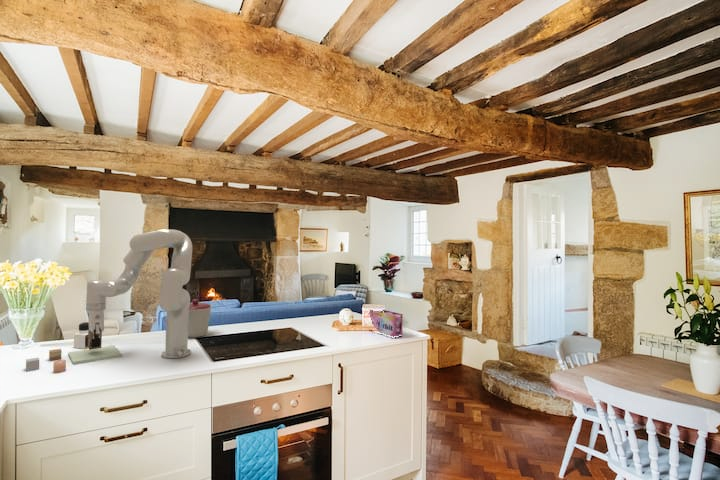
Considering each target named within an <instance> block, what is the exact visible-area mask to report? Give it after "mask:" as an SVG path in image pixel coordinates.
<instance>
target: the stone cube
mask: <svg viewBox="0 0 720 480" xmlns="http://www.w3.org/2000/svg"><path fill="white" fill-rule="evenodd" d="M36 370H37V371H38V370H40V357H34V358H28V359H25V371H26V372H31V371H36Z"/></svg>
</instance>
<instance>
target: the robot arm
mask: <svg viewBox="0 0 720 480" xmlns="http://www.w3.org/2000/svg"><path fill="white" fill-rule="evenodd" d="M129 248H130V250H129V251H128V253H127V254H126V255H125V256H124V258H123V263H124V266H125V267H124V269H123V271H122V273H121V274H120V276H119V277H118V278H116V279H113V280H108V281H106V280H104V279H93V280H88V281H87V283H86V295H85V296H86V298H85V299H86V300H85V302H86V303H85V311H86V312H88V322H89V330H90V331H91V332H92V337H93V339H92V344H91V347H92V348H93V347H99V346H100V330H101V331H102V332H104V330H105V312H104V311H106V309H107V298H113V297H117V296H120V295H124V294H126V293H128V292H129V291H130V290H131V288H132V287H133V286H134V284H135V283H136V281H137V280H138V278H139V277H140V274H141V271H142V268H143V266H144V265H145V264H146V262H147V261H148V260H149V258H150V257H151V255H153V253H154V252H155V251H156V250H160V249H165V248H173V253H172V255H171V263H170V264H171V265H170V268H167V269H166V270H164V272H163V273H162V275H161V278H160V286H159V294H158V304H159V307H160V308H161V310H163V311H164V312H165V313H166V317H165V318H166V319H165V320H166V321H165V349H164V351H163V352H161V357H162V358H164V359H179V358H184V357H187V356H189V355H191V353H192V350H191V349H190V348H188V343H189V340H188V339H189V338H188V315H189V306H190V303H191V295H190V293H189V292H188V291H187V290H186V289H184V288H183V286H185V285H186V284H188V283H189V281H190V278H191V268H192V256H193V243H192V240H191V239H190V237H189V236H188V235H187V234H186V233H184V232H182V231H181V230H177V229H173V228H172V229H171V228H170V229H169V228H166V229H165V228H164V229H158V230H153V231H147V232H143V233H138V234H136V235H133V236H132V237H131V238H130V240H129ZM95 330H96V332H94V331H95ZM94 333H96V334H94Z"/></svg>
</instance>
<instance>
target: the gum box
mask: <svg viewBox="0 0 720 480" xmlns="http://www.w3.org/2000/svg"><path fill="white" fill-rule="evenodd" d="M369 310H370V312H369V311H368V315H369V314H370V317H371V320H372V324H373V325H374V327H375V328H376V329H377V331H379V332H380V333H384V334H386V335H390V336H393V337H394V336H399V335H402V336H403V319H404V318H403V315H404V314H402V313H399V312H394V311H390V310H385V309H382V310H383V311H384V313H383V311H373V310H371V309H369Z"/></svg>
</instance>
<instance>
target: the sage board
mask: <svg viewBox="0 0 720 480" xmlns="http://www.w3.org/2000/svg"><path fill="white" fill-rule="evenodd" d="M67 353H68V354H67V355H68V357H69V360H70V361H71V364H72V365H79V364H85V363H90V362H96V361H104V360H108V359H113V358H120V357H121V358H122V357H123V355H122V352H121V351H120V350H119V349H118V348H117V347H116V345H107V346H101V348H98V349H91V350H89V348H87V349H81V350H80V349H79V350H74V351H68V352H67Z"/></svg>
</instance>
